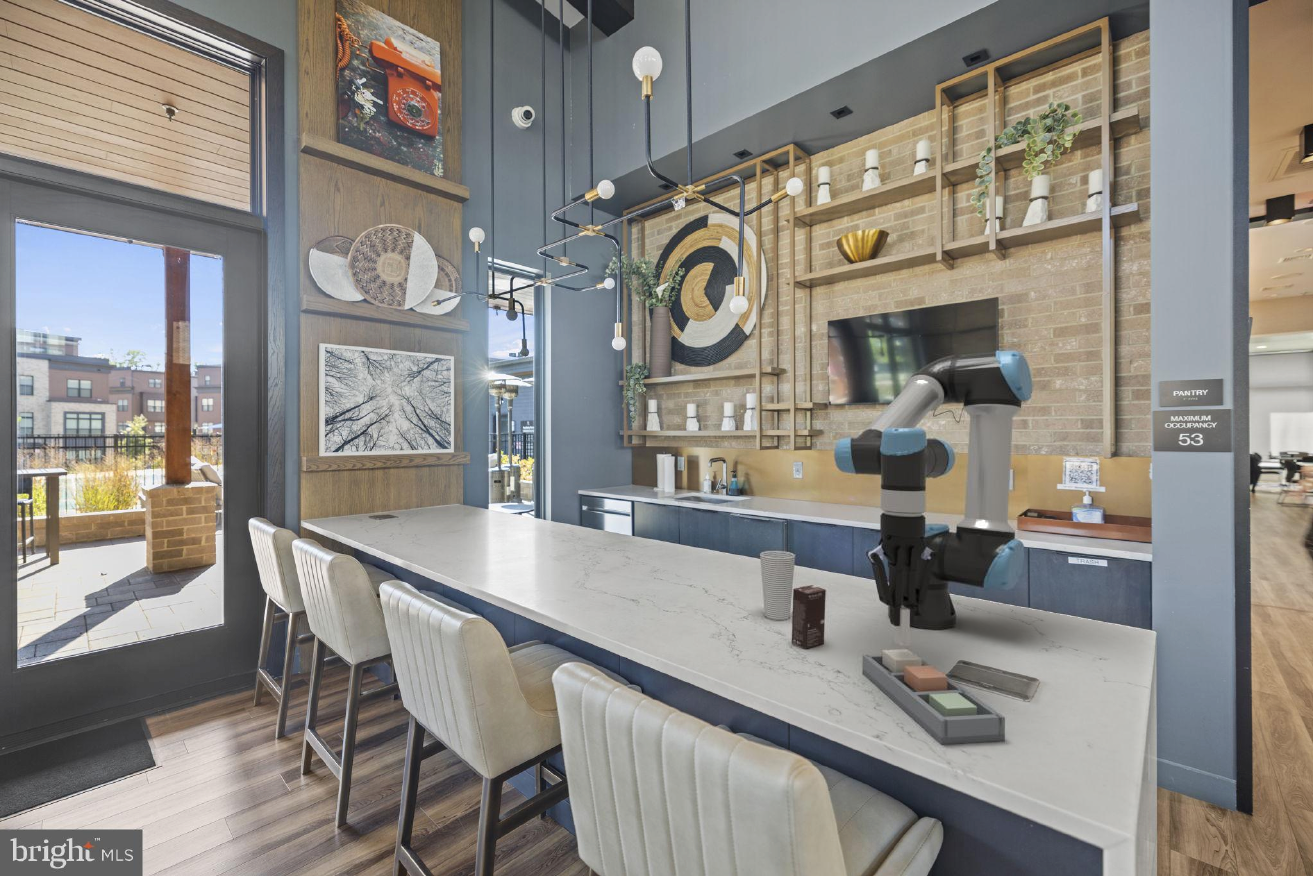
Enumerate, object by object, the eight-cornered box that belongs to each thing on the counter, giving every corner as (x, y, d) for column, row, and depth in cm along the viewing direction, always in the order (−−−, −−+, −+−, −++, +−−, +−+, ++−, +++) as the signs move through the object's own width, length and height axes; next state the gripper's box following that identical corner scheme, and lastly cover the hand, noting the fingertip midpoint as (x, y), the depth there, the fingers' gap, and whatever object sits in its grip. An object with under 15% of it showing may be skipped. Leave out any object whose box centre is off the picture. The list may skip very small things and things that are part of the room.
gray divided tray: (912, 671, 110) (912, 653, 110) (1004, 740, 86) (1004, 717, 85) (862, 673, 109) (862, 655, 109) (941, 744, 84) (941, 720, 84)
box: (807, 650, 121) (807, 593, 121) (791, 643, 125) (791, 588, 125) (826, 644, 124) (826, 588, 124) (810, 638, 128) (810, 584, 128)
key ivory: (907, 662, 108) (907, 649, 107) (921, 673, 103) (921, 659, 103) (882, 663, 107) (882, 650, 107) (895, 674, 102) (895, 660, 102)
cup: (799, 615, 144) (799, 553, 144) (787, 624, 137) (788, 559, 137) (767, 609, 149) (767, 549, 149) (754, 618, 142) (754, 555, 142)
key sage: (957, 708, 93) (957, 693, 93) (976, 723, 88) (976, 707, 88) (928, 709, 92) (929, 694, 92) (947, 725, 87) (947, 708, 87)
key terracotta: (930, 679, 100) (930, 665, 100) (947, 692, 95) (947, 677, 95) (904, 680, 100) (904, 666, 100) (919, 693, 95) (919, 678, 95)
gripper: (924, 510, 109) (923, 635, 109) (858, 510, 108) (857, 637, 108) (949, 515, 102) (947, 649, 102) (878, 516, 100) (877, 652, 100)
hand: (901, 643), depth 105 cm, fingers closed
